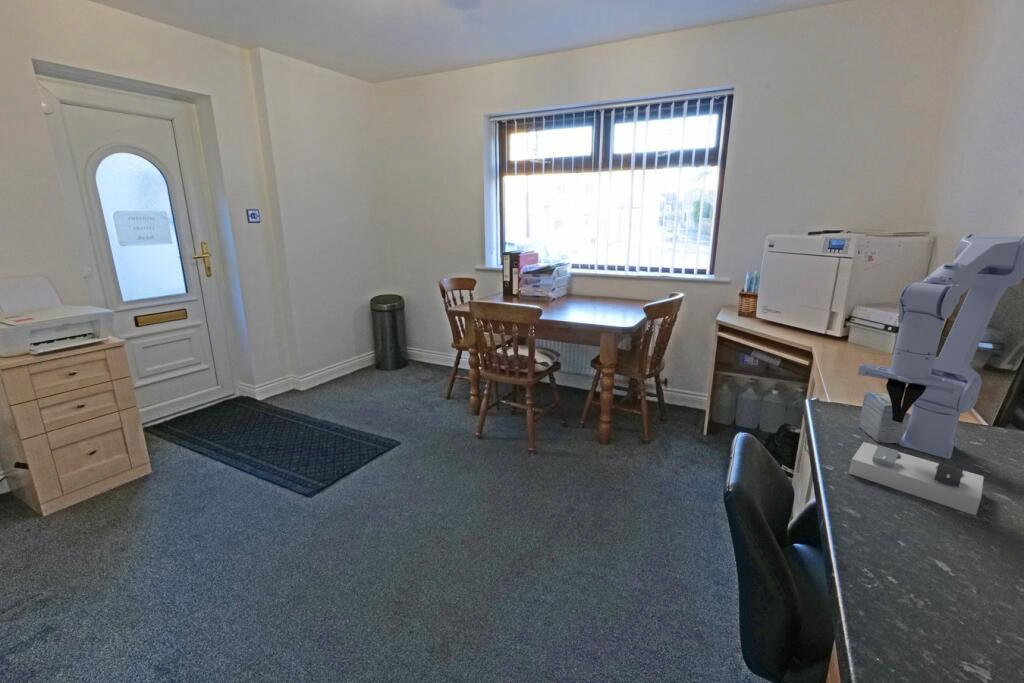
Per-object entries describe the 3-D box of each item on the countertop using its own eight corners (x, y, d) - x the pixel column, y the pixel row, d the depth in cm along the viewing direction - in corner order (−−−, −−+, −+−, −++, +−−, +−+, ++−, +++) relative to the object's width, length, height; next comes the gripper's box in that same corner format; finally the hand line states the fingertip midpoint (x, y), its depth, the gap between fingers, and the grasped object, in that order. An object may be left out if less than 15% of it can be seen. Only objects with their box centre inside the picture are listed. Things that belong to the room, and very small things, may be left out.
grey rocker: (877, 449, 86) (878, 444, 86) (897, 455, 84) (898, 450, 84) (871, 461, 84) (872, 456, 84) (892, 467, 82) (893, 462, 81)
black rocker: (937, 467, 80) (939, 462, 80) (961, 474, 78) (963, 469, 78) (934, 479, 78) (935, 474, 78) (958, 487, 76) (960, 481, 75)
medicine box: (899, 445, 97) (909, 406, 95) (875, 442, 98) (884, 404, 96) (878, 429, 105) (887, 393, 103) (856, 427, 106) (864, 391, 104)
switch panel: (860, 455, 93) (863, 441, 92) (978, 491, 81) (984, 475, 80) (848, 473, 86) (852, 457, 85) (975, 515, 74) (981, 497, 73)
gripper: (861, 345, 85) (846, 414, 89) (969, 364, 75) (947, 440, 79) (869, 339, 90) (854, 404, 94) (972, 356, 80) (951, 428, 84)
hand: (897, 420), depth 87 cm, fingers closed
